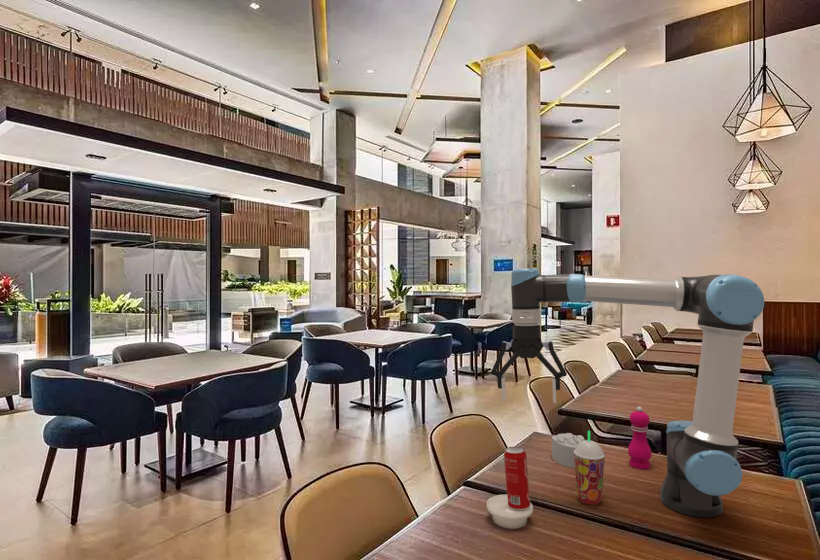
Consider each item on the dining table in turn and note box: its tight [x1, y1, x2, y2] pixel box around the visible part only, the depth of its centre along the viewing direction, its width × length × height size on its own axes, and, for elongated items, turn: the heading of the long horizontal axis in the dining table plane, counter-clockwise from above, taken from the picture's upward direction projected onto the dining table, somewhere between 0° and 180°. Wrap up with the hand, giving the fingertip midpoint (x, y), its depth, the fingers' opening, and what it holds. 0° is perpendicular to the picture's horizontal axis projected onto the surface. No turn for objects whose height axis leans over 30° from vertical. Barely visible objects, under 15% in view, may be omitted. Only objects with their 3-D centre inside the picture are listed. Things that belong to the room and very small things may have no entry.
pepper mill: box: [627, 406, 652, 470], centre depth 163 cm, size 7×7×20 cm
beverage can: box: [503, 446, 531, 510], centre depth 127 cm, size 6×6×15 cm
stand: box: [486, 493, 534, 530], centre depth 128 cm, size 12×12×4 cm
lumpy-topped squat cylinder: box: [551, 432, 586, 469], centre depth 167 cm, size 10×13×9 cm
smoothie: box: [574, 430, 606, 506], centre depth 138 cm, size 8×8×20 cm
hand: (528, 401), depth 133 cm, fingers open, 13 cm apart
